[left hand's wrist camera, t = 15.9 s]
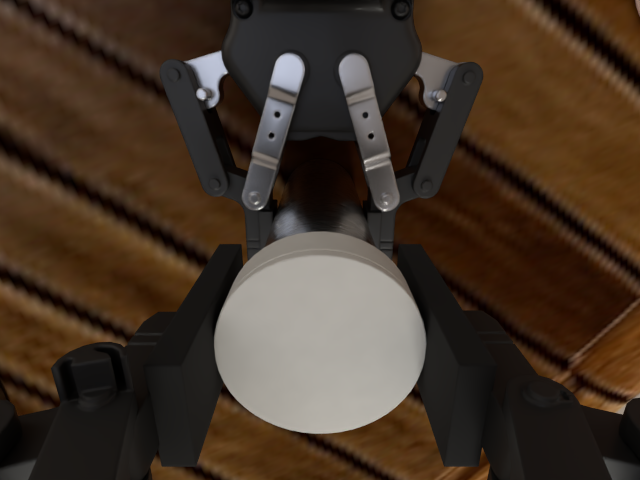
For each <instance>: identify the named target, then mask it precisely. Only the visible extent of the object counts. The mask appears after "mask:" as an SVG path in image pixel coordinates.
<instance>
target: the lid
mask: <svg viewBox="0 0 640 480" xmlns="http://www.w3.org/2000/svg"><path fill="white" fill-rule="evenodd" d="M214 350H215V359H216V364H217V367H218V371H219V373H220V375H221V377H222V380H223V382H224V383H225V385H226V386H227V388H228V389H229V391H230V392H231V393H232V395H233V396H234V397H235V398H236V399H237V400H238V401H239V402H240V403H241V404H242V405H243V406H244V407H245V408H246V409H248V410H249V411H250V412H252V413H253V414H255V415H256V416H258V417H260V418H261V419H263V420H265V421H267V422H269V423H271V424H274V425H276V426H279V427H282V428H285V429H289V430H293V431H298V432H304V433H335V432H342V431H347V430H352V429H355V428H358V427H361V426H364V425H367V424H369V423H371V422H373V421H376V420H377V419H379V418H381V417H382V416H384V415H386V414H387V413H389V412H390V411H391V410H392V409H394V408H395V407H396V406H397V405H398V404H399V403H400V402H402V401H403V400H404V399H405V397H406V396H407V395H408V394H409V392H410V391H411V390H412V388H413V387H414V385H415V383H416V382H417V380H418V378H419V376H420V373H421V371H422V368H423V365H424V361H425V352H426V331H425V327H424V322H423V319H422V317H421V314H420V312H419V309H418V307H417V305H416V302H415V300H414V298H413V296H412V293H411V291H410V289H409V287H408V284H407V282H406V280H405V278H404V277H403V275H402V273H401V271H400V270H399V269H398V268H397V266H396V265H395V264H394V263H393V261H391V260H390V259H389V258H388V257H387V256H386V255H385V254H384V253H383V252H381V251H380V250H379V249H377V248H376V247H374V246H372V245H371V244H369V243H367V242H365V241H363V240H360V239H358V238H355V237H352V236H349V235H345V234H341V233H334V232H306V233H299V234H295V235H292V236H288V237H285V238H282V239H280V240H278V241H275V242H273V243H271V244H270V245H268V246H266V247H264V248H263V249H262V250H260V251H259V252H258V253H256V254H255V255H254V256H253V257H252V258H251V259H250V260H249V261H248V262H247V263H246V264H245V265H244V267H243V268H242V269H241V271H240V272H239V273H238V275H237V277H236V279H235V281H234V283H233V285H232V287H231V289H230V292H229V294H228V296H227V298H226V301H225V303H224V305H223V307H222V310H221V312H220V315H219V317H218V320H217V323H216V328H215V333H214Z"/></svg>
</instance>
